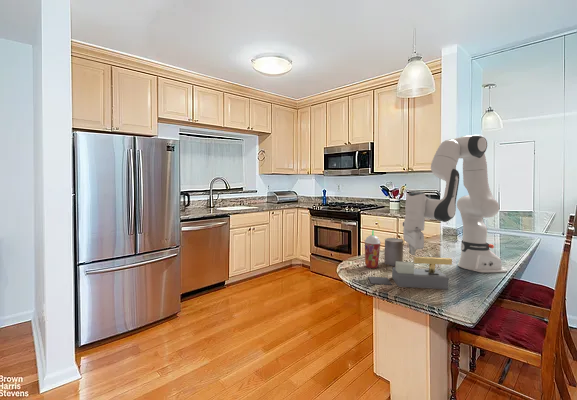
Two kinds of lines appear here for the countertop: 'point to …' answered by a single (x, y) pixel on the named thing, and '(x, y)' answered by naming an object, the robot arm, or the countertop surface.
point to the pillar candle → (393, 251)
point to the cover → (404, 267)
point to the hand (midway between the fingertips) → (412, 254)
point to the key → (432, 262)
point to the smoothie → (372, 251)
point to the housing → (421, 279)
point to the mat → (379, 280)
